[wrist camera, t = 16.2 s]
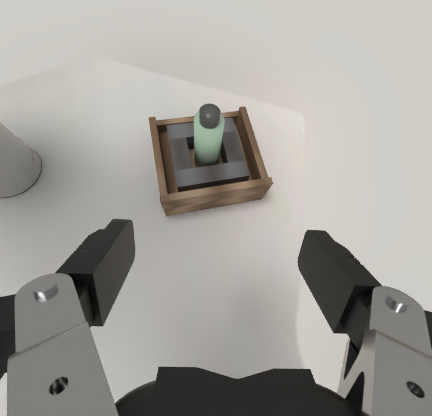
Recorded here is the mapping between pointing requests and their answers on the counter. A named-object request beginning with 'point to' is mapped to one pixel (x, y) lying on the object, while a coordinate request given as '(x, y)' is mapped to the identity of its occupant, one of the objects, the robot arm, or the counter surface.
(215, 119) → the mint green cylinder
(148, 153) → the counter surface
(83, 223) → the counter surface
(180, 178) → the box
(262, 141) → the counter surface
